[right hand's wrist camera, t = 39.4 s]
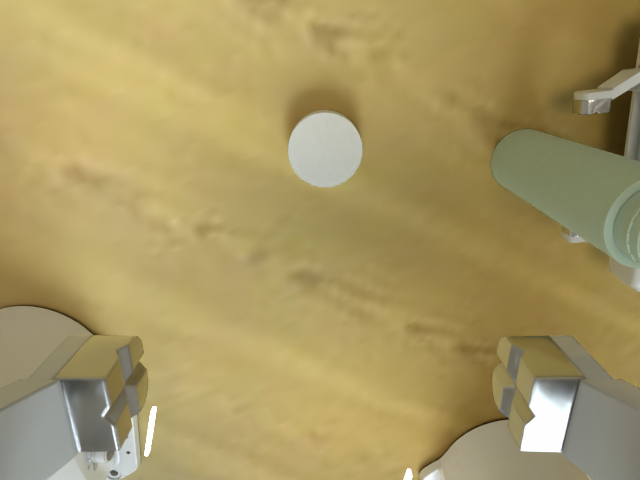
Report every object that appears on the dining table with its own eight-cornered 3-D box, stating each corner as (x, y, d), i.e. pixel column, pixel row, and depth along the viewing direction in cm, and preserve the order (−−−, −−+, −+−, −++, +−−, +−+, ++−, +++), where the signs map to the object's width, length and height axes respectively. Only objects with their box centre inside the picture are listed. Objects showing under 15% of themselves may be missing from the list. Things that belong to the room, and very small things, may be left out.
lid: (324, 93, 36) (324, 95, 34) (375, 146, 38) (378, 150, 36) (274, 146, 38) (272, 151, 36) (325, 195, 39) (325, 202, 37)
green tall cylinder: (563, 163, 38) (759, 242, 21) (511, 201, 39) (656, 304, 22) (532, 115, 37) (715, 158, 20) (478, 156, 38) (607, 229, 21)
